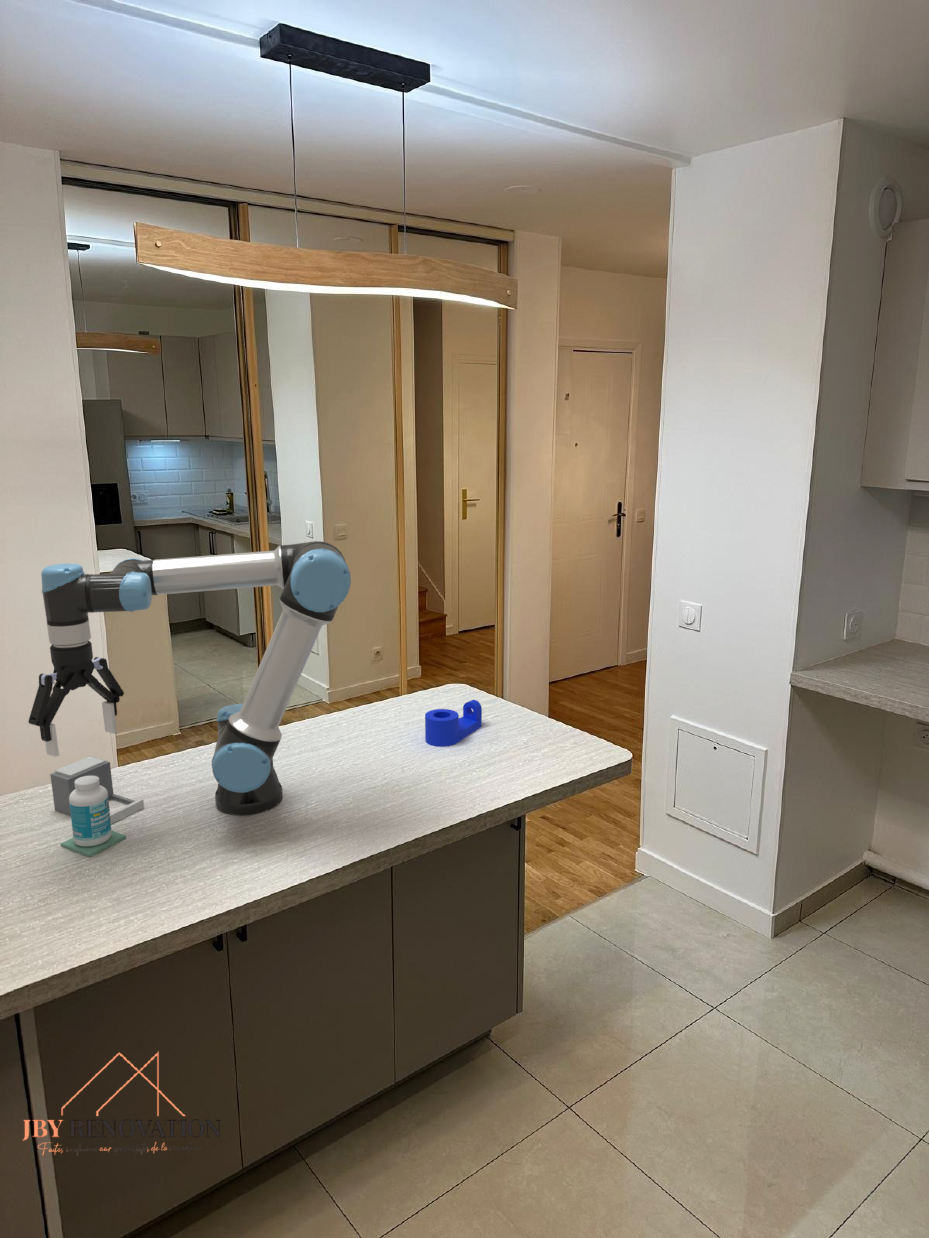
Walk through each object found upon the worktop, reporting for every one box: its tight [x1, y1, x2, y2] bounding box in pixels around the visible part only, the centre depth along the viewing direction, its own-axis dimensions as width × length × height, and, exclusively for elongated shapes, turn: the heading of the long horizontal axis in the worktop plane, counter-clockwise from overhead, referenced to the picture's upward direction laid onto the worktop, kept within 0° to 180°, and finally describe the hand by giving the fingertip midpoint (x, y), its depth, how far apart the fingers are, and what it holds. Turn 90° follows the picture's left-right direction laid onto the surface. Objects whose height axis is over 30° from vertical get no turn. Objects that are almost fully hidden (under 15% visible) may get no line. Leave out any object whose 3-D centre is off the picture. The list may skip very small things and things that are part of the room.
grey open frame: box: [49, 756, 145, 825], centre depth 192 cm, size 16×11×10 cm
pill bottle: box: [69, 776, 113, 847], centre depth 177 cm, size 8×7×14 cm
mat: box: [60, 830, 127, 858], centre depth 179 cm, size 9×9×1 cm
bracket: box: [424, 699, 483, 748], centre depth 236 cm, size 20×9×8 cm, turn 142°
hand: (82, 743), depth 174 cm, fingers open, 13 cm apart
